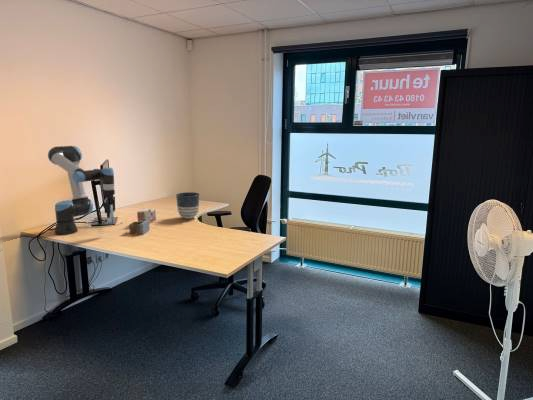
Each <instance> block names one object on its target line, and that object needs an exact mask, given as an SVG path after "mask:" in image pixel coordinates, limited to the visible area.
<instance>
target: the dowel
mask: <svg viewBox="0 0 533 400" xmlns="http://www.w3.org/2000/svg"><path fill="white" fill-rule="evenodd" d="M110 213H111V222H107V225H114V221H113V205H110Z"/></svg>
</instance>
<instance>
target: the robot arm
mask: <svg viewBox="0 0 533 400" xmlns="http://www.w3.org/2000/svg"><path fill="white" fill-rule="evenodd" d="M47 158H48V160H49V161H50V162H51V163H52V164H53V165H56V166H58V167H60V168H61V169H63V170H64V171H66V172H67V176H68V181H69V185H70V190H71V193H72V194H71V195H72V198H71V200H70V199H67V200H61V201H58V202H57V203H56V204H55V205H54V210H55V221H56V224H55V228H54V234H55V235H58V236H62V235H72V234H76V233H78V232H79V231H78V226H77V225H76V222H75V218H77V217H80V216H86V215H90V214H91V213H92V212H93V209H94V203H93V201H92V199H90V198H89V197H88V195H86V193H85V188H84V183H83V182H93V181H102V190H103V191H102V192H103V193H102V194H103V196H105V199H103V200H102V201H103V207H104V213H105V214H106V222H107V223H108V222H111V213H110V205H113V222H114V221H115V212H116V196H115V193H116V191H115V186H116V185H115V176H114V172H115V171H114V168H113V167H109V166H108V167H103V168H94V169H89V170H84V169H83V168H81V167H80V166H79V165H80V163H81V161H82V158H83V154H82V151H81V149H80V148H79V147H78V146H76V145H64V146H63V145H61V146H54V147H52V148H50V149H49V150H48V153H47Z"/></svg>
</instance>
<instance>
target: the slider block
mask: <svg viewBox="0 0 533 400" xmlns="http://www.w3.org/2000/svg"><path fill="white" fill-rule="evenodd" d="M141 223H143V222H138V221H133V222H131V223H129V225H128V228H129V229H128V230H129V234H130V235H141V231H140V224H141Z"/></svg>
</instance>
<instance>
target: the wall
mask: <svg viewBox="0 0 533 400" xmlns="http://www.w3.org/2000/svg"><path fill="white" fill-rule="evenodd" d="M140 231H141V234H140V235H143V236H144V235H145V234H147V233H148V232H149V231H150V224H149V220H146V221H144V222H143V223H141V224H140Z"/></svg>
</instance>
